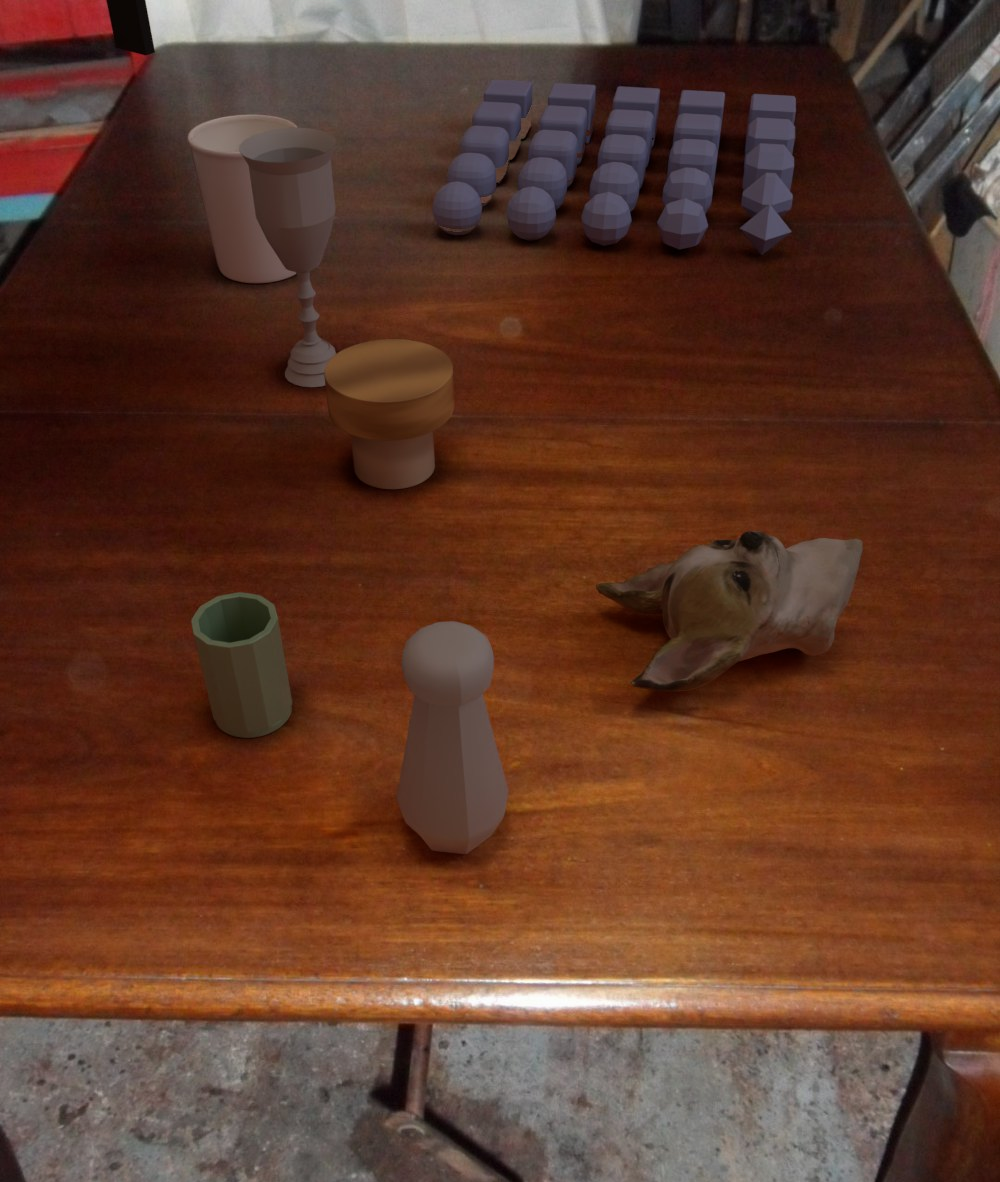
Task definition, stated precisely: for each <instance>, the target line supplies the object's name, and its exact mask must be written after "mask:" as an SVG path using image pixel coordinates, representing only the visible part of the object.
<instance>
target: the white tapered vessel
mask: <svg viewBox="0 0 1000 1182" xmlns="http://www.w3.org/2000/svg"><path fill="white" fill-rule="evenodd" d="M283 128H299V127H298V126H297V124H295V123H294V122H293V121H291V120H288V119H286V118H283V117H279V116H276V115H275V116H274V115H268V114H237V115H236V114H235V115H228V116H221V117H217V118H214V119H213V118H212V119H210V120H206V121H204V122H202V123H199V124H197V125H196V126H194V127H193V128H192V129H191V130H190V131H189V132H188V134H187V143H188V145H189V150H190V152H191V156H192V162H193V166H194V169H195V170H194V171H195V175H196V178H197V183H198V187H199V192H200V197H201V200H202V204H203V209H204V214H205V219H206V222H207V226H208V231H209V237H210V240H211V244H212V248H213V252H214V257H215V260H216V264H217V267H218V270H219V272H220V273H221V274H222V275H223V276H224V277H225V278H227V279H229V280H231V281H235V282H239V283H243V284H244V283H245V284H268V283H269V284H270V283H275V282H280V281H283V280H287V279H289V278H291V277H293V276H295V275H297V274H296V272H293V271H289V270H287V269H286V268H285V267H284V266H283V264H282V263H281V261H280V259H279V258H278V256H277V255H276V253H275V252H274V250H273V249H272V247H271V246H270V244H269V243H268V241H267V239H266V237H265V235H264V233H263V231H262V229H261V227H260V225H259V223H258V221H257V219H256V214H255V208H254V201H253V194H252V187H251V180H250V173H249V166H248V164H247V162H246V161H245V159H244V158H243V156H242V155H241V153H240V152H239V145H240V144H241V143H242V142H243V141H244V140H245V139H247V138H249V137H251V136H253V135H256V134H259V133H262V132H265V131H270V130H276V129H283Z"/></svg>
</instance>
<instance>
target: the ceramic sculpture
mask: <svg viewBox="0 0 1000 1182" xmlns="http://www.w3.org/2000/svg"><path fill="white" fill-rule="evenodd" d="M863 551H864V548H863V541H862V540H861V539H859V538H851V539H837V538H829V537H819V538H815V539H812V540H805V541H801V542H798V543H796V544H793V545H791V546H789V547H785V546H784V544H783V542H782V541H781V540H779V539H778V538H777V537H776V536H773V535H768V534H767V533H766V532H764V531H760V530H754V531H751V530H748V531H744V532H743V533H742V534H741V535H740V536H739V538H738V539H737V540H736V539H715V540H712V541H711V542H709V544H707V545H704V544H698V545H695V546H692V547H690V548H688V549H687V550H686V551H685V552H684V553H683V554H681V555H680V556H679V557H677V559H675V560H673V561H671V562H668V563H659V564H656V565H655V566H653V567H650V568H648V569H647V570H646V571H645V572H644V573H638V574H636V575H633V576H632V577H630V578H629V579H627V580H624V581H622V582H602V583H597V584H595V590H597V592H598V593H599V594H601V595H602V596H604V597H606V598H608V599H610V600H611V601H613V602H615V603H616V604H618V605H619V606H622V607H624V608H626V609H629V610H630V611H633V612H634V613H637V614H639V615H646V616H647V615H662V622H663V625H664V628H665V631H666V634H667V636H668V637H669V640H668V641H667V642H665V643H664V644H663V645H661V646H660V647H659V648H658V649H657V650H656V652H655V653H654V654H653V656H652V658H651V660H650V661H649V663H647V665H646V667H645V668H644V670H643V671H642V672H641V673H640V674H639V675H638V676H636V677H635V678H633V679H632V680H631V681H630V686H631V687H632V688H636V689H643V690H651V691H658V692H691V691H693V690H697V689H700V688H703V687H704V686H706V685H708V684H710V683H712V682H713V681H715V680H716V679H717V678H719V677H720V676H721V675H723V674H725V672H726V671H728V670H729V669H730V668H731V667H733V666H734V665H736V664H737V663H739V662H742V661H745V660H749V659H752V658H756V657H758V656H763V655H766V654H771V653H775V652H779V651H783V650H786V649H797V650H799V651H800V652H801V653H803V654H804V655H807V656H811V657H815V656H816V657H817V656H821V655H822V654H825V653H826V652H827V651H828V650H830V648H831V647H832V645H833V643H834V641H835V629H836V626H837V622H838V619H839V617H840V616H841V614H842V613H843V611H844V610H845V609H846V607H847V606H848V604H849V602H850V598H851V595H852V594H853V593H852V592H853V590H854V588H855V581H856V578H857V575H858V572H859V567H860V562H861V561H860V560H861V557H862V553H863Z"/></svg>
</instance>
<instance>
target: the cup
mask: <svg viewBox="0 0 1000 1182" xmlns="http://www.w3.org/2000/svg"><path fill="white" fill-rule="evenodd" d="M190 623H191V629H192V634H193V639H194V643H195V647H196V651H197V655H198V659H199V664H200V668H201V672H202V676H203V680H204V681H203V682H204V685H205V688H206V692H207V697H208V701H209V705H210V710H211V714H212V718H213V720H214V723H215V725H216V726H217V728H219V729H220V730H221V731H223V732H224V733H225V734H227V735H229V736H232V737H235V738H241V739H251V738H253V739H254V738H260V737H263V736H266V735H270V734H271V733H274V732H275V731H277V730H279V729H280V728H281V727H282V726H283V725H285V724H286V723H287V721H289V719H290V717H291V714H292V712H293V698H292V691H291V687H290V679H289V675H288V674H289V673H288V668H287V662H286V656H285V650H284V645H283V640H282V634H281V628H280V627H281V626H280V621H279V616H278V613H277V608H276V605H275V604H274V603H272V602H271V601H269V600H268V599H267V598H265V597H264V596H262V595H260V594H256V593H255V594H254V593H249V592H242V591H239V592H233V593H227V594H222V595H217V596H215V597H213V598H212V599H210V600H208V601H207V602H204V603H203V604H202V605H200V606H199V607H198V609H197V610H196V611H195V613H194V615H193V616H192V618H191V619H190Z"/></svg>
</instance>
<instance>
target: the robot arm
mask: <svg viewBox="0 0 1000 1182" xmlns="http://www.w3.org/2000/svg"><path fill="white" fill-rule="evenodd" d="M105 2H106V6H107V10H108V15H109V19H110V25H111V30H112V34H113V39H114V44H115V48H116V49H119V50H123V51H127V52H130V53H135V54H137V55H142V56H149V55H151V54H155V53H156V51H155V45H154V39H153V34H152V29H151V24H150V19H149V12H148V7H147V2H146V0H105Z"/></svg>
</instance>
